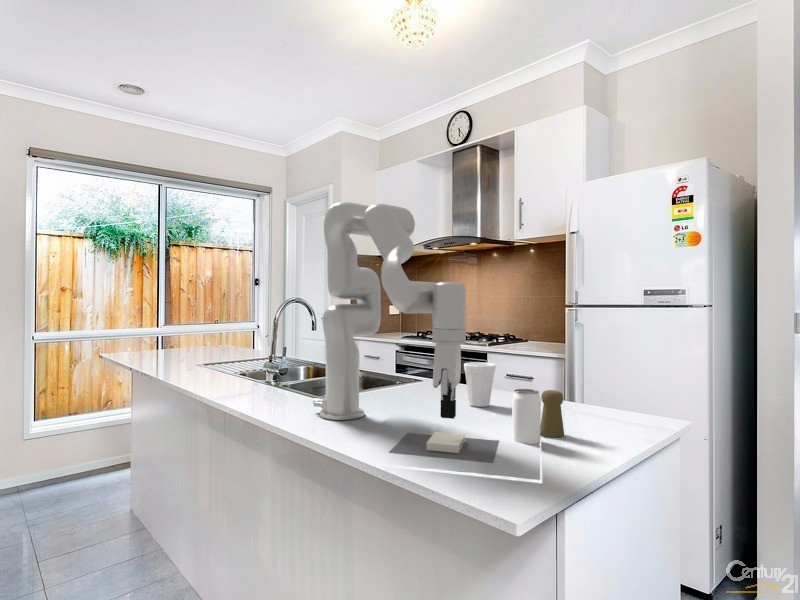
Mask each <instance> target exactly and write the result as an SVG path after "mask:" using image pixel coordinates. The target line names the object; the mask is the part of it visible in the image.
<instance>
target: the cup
mask: <svg viewBox="0 0 800 600" xmlns="http://www.w3.org/2000/svg"><path fill="white" fill-rule="evenodd" d="M496 367H497V366H496V363H492V362H491V363H490V362H483V361H482V362H480V361H473V362H472V361H471V362H470V361H469V362H465V363H463V371H464V373H465V381H466V389H467V396H468V397H467V398H468V404H469V406H472V407H479V408H480V407H488V406H490V403H491V397H492V396H491V395H492V390H493V383H494V382H493V381H494V378H495V377H494V376H495V372H496Z"/></svg>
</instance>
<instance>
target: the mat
mask: <svg viewBox="0 0 800 600" xmlns="http://www.w3.org/2000/svg"><path fill="white" fill-rule="evenodd" d="M432 435H433V434H424V433H414V432H407V433H406V434H405V435H404V436H403V437H402V438H401V439H400V440H399V441H398V442H397V443H396V444H395V445H394V446H393V447H392V448H391V449H390V451H388V453H389V454H396V455H398V454H399V455H409V456H419V457H426V458H427V457H428V458H438V459H439V458H440V459H447V460H449V459H450V460H459V461H460V460H461V461H469V462H477V463H491V464H493V463H494V461H495V458H496V453H497V450H498V446H499V443H500V440H497V439H482V438H475V437H474V438H471V437H465V442H464V444H463V446H462V448H461V450H460V452H459V453H451V452H440V451H430V450H427V442H428V440H429V439H430V438H431V436H432Z"/></svg>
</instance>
